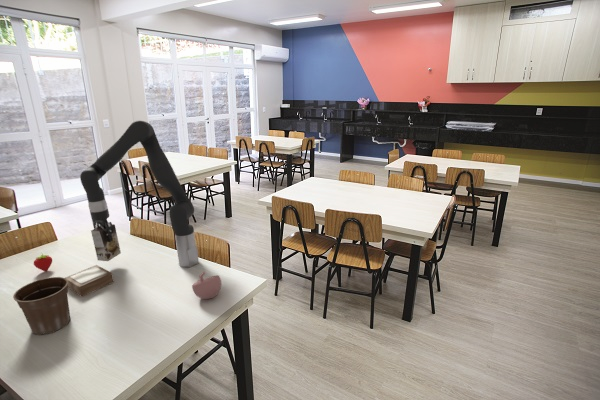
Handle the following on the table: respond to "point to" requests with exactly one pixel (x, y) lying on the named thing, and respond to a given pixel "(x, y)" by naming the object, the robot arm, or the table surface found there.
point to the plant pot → (45, 304)
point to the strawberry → (43, 262)
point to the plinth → (89, 280)
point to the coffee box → (105, 244)
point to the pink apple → (207, 286)
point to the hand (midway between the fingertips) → (105, 239)
